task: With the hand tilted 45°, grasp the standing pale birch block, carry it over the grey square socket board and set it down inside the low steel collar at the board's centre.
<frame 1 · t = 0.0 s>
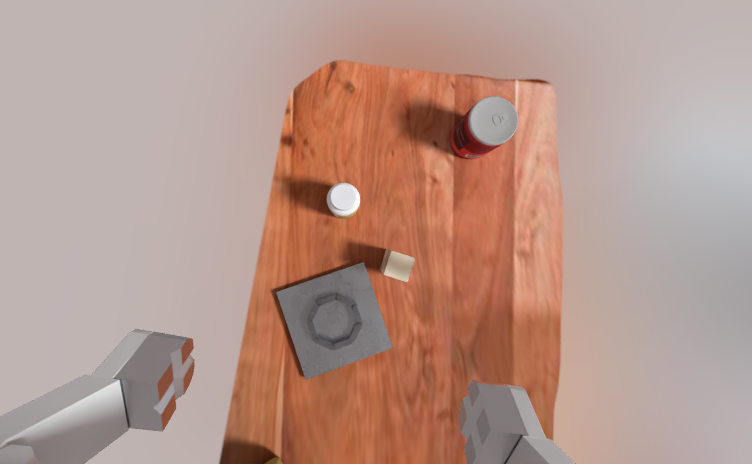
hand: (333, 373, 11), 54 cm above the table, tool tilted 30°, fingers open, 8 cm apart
grey square socket board: (335, 318, 64), on the table
canned food: (469, 140, 67), on the table
supplement bottle: (343, 203, 65), on the table
birch block: (393, 263, 65), on the table
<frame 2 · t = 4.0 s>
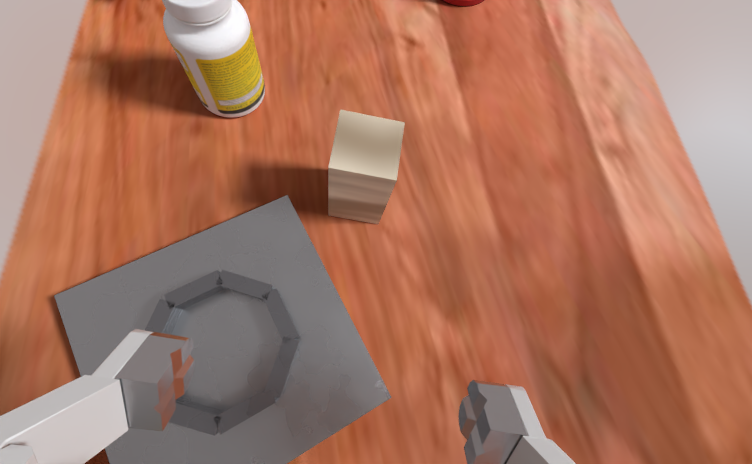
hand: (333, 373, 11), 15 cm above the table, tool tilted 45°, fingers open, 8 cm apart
grey square socket board: (230, 347, 25), on the table
supplement bottle: (233, 93, 31), on the table
birch block: (357, 196, 29), on the table
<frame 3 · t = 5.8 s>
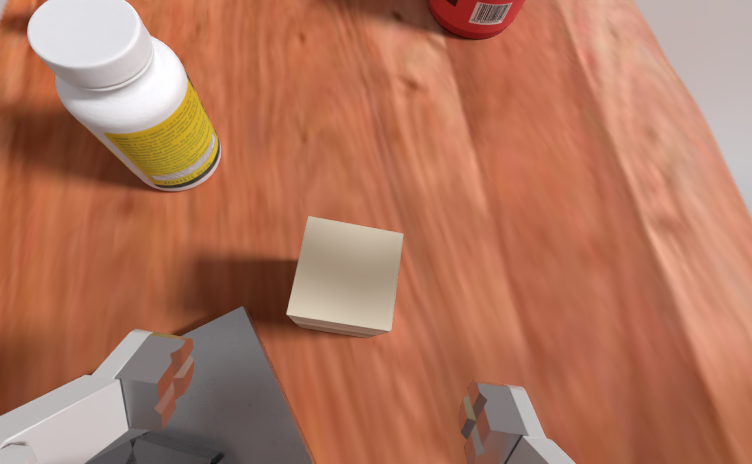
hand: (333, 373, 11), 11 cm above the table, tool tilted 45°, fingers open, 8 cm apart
canned food: (468, 8, 31), on the table
supplement bottle: (180, 156, 23), on the table
birch block: (340, 298, 22), on the table
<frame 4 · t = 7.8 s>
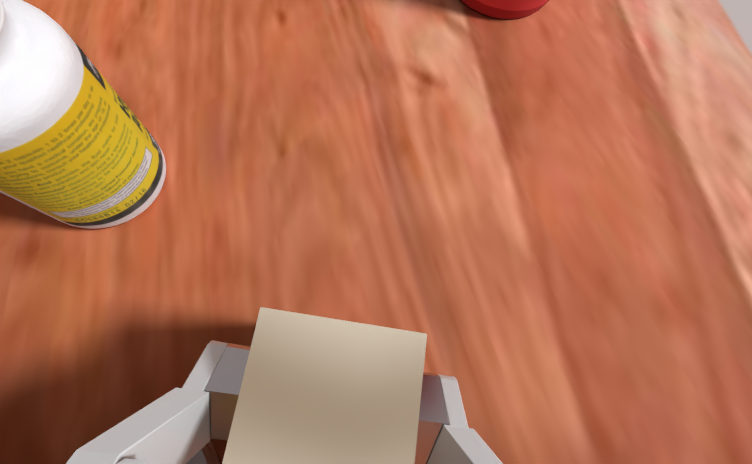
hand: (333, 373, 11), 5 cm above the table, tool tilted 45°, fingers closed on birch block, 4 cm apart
supplement bottle: (110, 178, 17), on the table
birch block: (328, 380, 15), on the table, touching gripper
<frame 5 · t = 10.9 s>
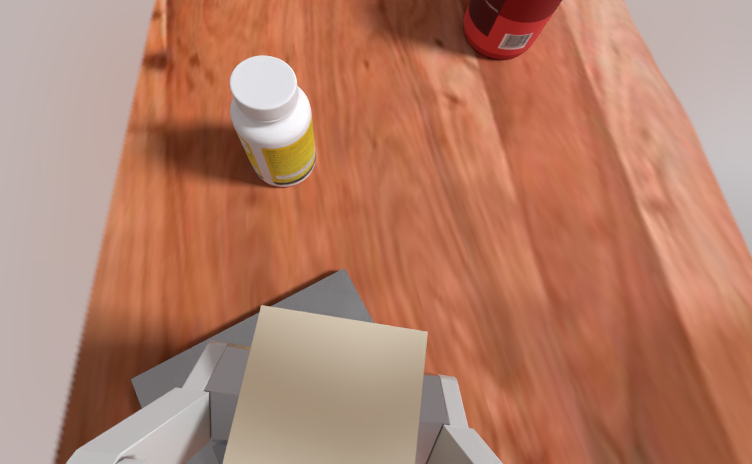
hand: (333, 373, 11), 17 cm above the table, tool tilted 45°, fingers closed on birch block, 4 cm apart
grey square socket board: (296, 422, 25), on the table
canned food: (495, 33, 38), on the table
supplement bottle: (284, 160, 31), on the table
birch block: (329, 379, 16), point 12 cm above the table, touching gripper
when the fingers open (8 cm above the table, at t = 14.1 s): birch block drops 1 cm, resting on grey square socket board.
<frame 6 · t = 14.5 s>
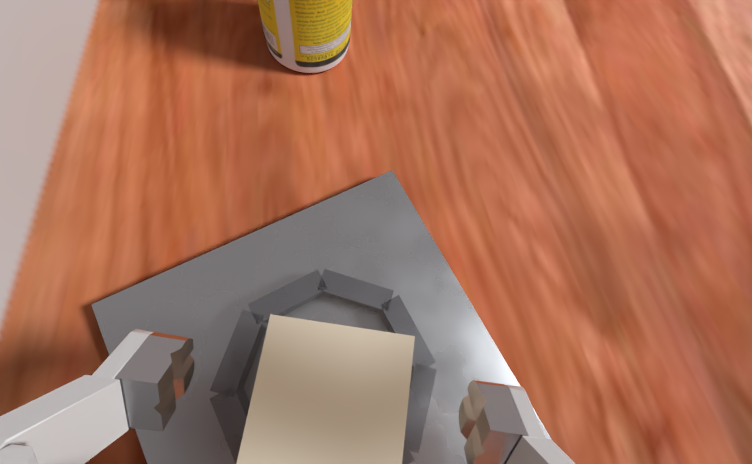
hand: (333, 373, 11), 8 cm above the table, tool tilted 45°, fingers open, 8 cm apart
grey square socket board: (328, 374, 18), on the table
supplement bottle: (308, 44, 24), on the table
birch block: (329, 378, 17), point 1 cm above the table, touching grey square socket board
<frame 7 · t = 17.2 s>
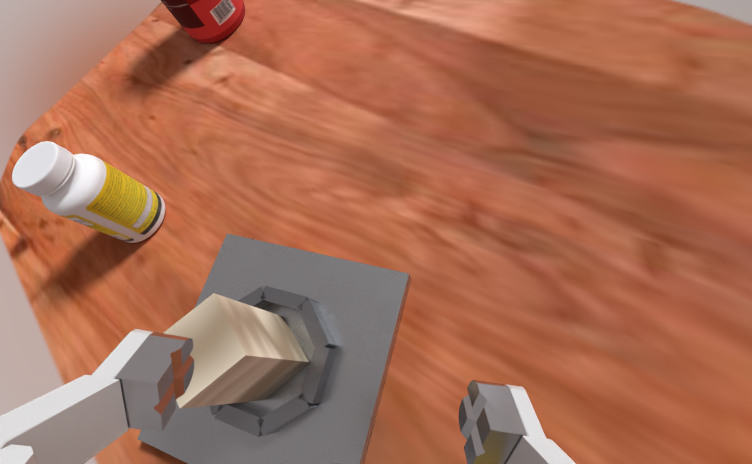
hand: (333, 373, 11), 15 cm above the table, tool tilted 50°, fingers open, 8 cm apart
grey square socket board: (280, 357, 27), on the table
canned food: (220, 22, 44), on the table
supplement bottle: (145, 218, 35), on the table
birch block: (273, 356, 26), point 1 cm above the table, touching grey square socket board
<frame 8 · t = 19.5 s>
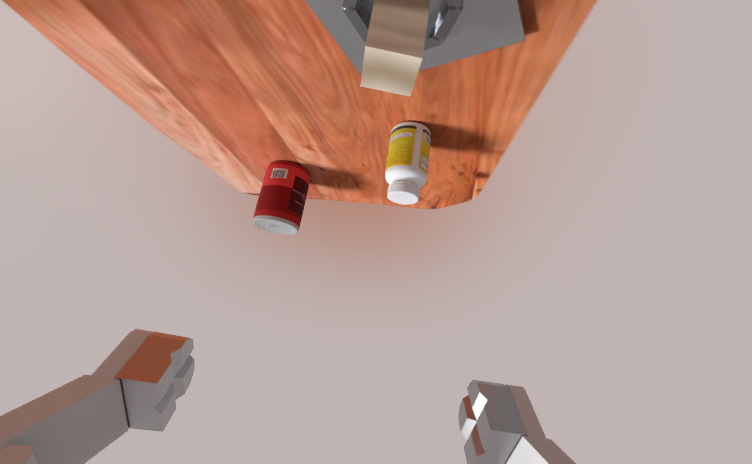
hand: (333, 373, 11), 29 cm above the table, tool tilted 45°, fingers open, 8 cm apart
canned food: (289, 169, 65), on the table
supplement bottle: (411, 131, 49), on the table
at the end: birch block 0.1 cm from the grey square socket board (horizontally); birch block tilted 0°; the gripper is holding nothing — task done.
